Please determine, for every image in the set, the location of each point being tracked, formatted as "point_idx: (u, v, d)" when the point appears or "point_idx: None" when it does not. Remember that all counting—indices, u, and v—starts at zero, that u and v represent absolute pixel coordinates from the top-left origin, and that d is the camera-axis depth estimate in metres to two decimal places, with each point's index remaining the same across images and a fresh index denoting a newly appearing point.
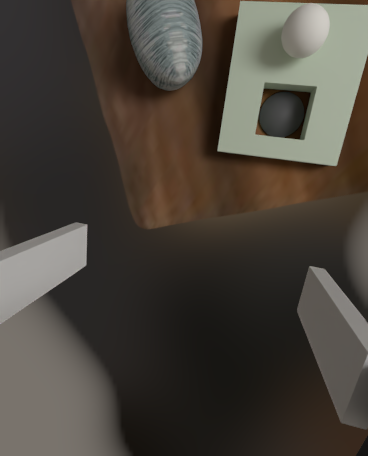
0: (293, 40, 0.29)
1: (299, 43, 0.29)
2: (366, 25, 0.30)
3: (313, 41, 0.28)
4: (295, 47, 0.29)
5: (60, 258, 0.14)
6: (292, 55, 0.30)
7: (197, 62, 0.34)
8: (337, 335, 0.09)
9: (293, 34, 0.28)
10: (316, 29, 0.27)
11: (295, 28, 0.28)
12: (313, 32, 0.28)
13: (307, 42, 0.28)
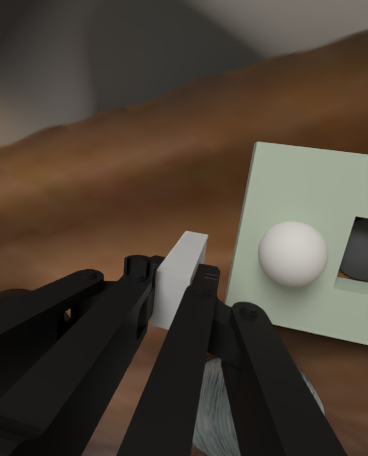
0: (313, 280, 0.19)
1: (320, 272, 0.18)
2: (280, 157, 0.21)
3: (322, 254, 0.18)
4: None
5: None
6: None
7: None
8: None
9: (307, 282, 0.18)
10: (311, 254, 0.18)
11: (301, 281, 0.18)
12: (314, 258, 0.18)
13: (323, 262, 0.18)
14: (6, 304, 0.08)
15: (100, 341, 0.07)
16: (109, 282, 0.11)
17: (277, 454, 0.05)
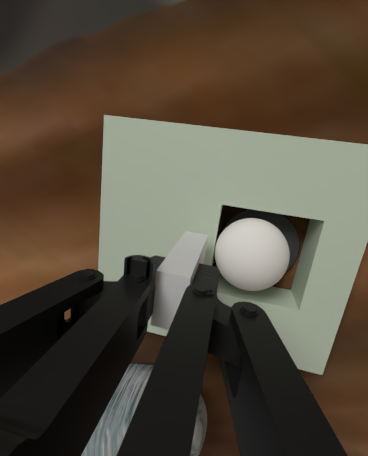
0: None
1: None
2: (131, 134, 0.17)
3: None
4: None
5: None
6: (215, 260, 0.18)
7: None
8: None
9: None
10: None
11: None
12: None
13: None
14: (6, 304, 0.08)
15: (100, 342, 0.07)
16: (109, 282, 0.11)
17: (277, 454, 0.05)
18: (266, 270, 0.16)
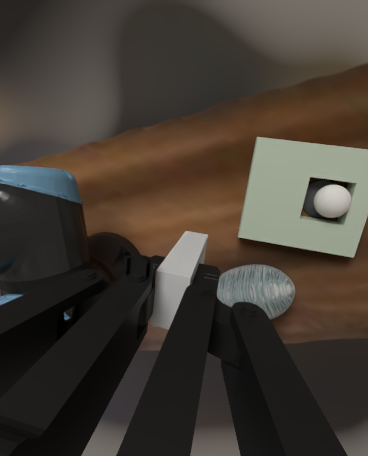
0: (314, 206, 0.40)
1: None
2: (269, 145, 0.39)
3: (316, 193, 0.40)
4: (314, 204, 0.40)
5: None
6: (321, 206, 0.38)
7: (279, 272, 0.42)
8: None
9: None
10: None
11: None
12: None
13: None
14: (6, 304, 0.08)
15: (100, 342, 0.07)
16: (109, 282, 0.11)
17: (277, 454, 0.05)
18: (349, 205, 0.38)
